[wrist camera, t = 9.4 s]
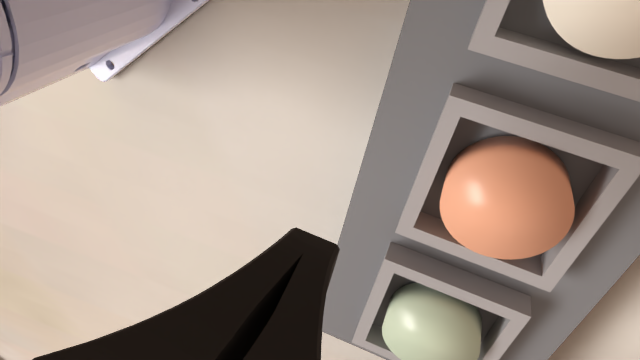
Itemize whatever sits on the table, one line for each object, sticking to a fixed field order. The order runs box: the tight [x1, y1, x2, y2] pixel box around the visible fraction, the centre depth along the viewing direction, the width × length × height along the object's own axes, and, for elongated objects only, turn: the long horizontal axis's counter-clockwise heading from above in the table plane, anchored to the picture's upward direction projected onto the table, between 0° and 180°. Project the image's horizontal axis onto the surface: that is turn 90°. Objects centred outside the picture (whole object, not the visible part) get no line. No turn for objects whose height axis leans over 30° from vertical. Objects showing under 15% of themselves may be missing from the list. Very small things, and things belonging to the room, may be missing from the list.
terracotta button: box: [440, 136, 575, 260], centre depth 17 cm, size 4×4×2 cm
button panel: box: [322, 0, 640, 360], centre depth 18 cm, size 26×11×4 cm, turn 169°
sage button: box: [382, 283, 482, 360], centre depth 21 cm, size 4×4×2 cm
